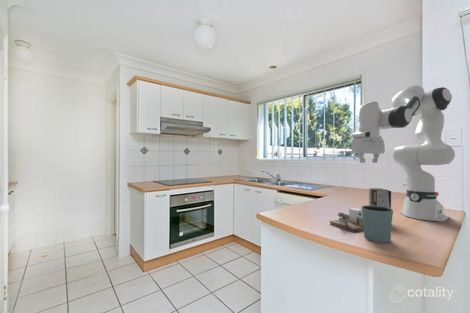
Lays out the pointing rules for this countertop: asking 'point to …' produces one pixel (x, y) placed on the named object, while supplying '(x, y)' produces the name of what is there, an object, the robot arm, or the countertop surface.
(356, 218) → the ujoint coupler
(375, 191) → the coffee box
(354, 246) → the countertop surface
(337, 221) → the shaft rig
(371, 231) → the teal grey open container
